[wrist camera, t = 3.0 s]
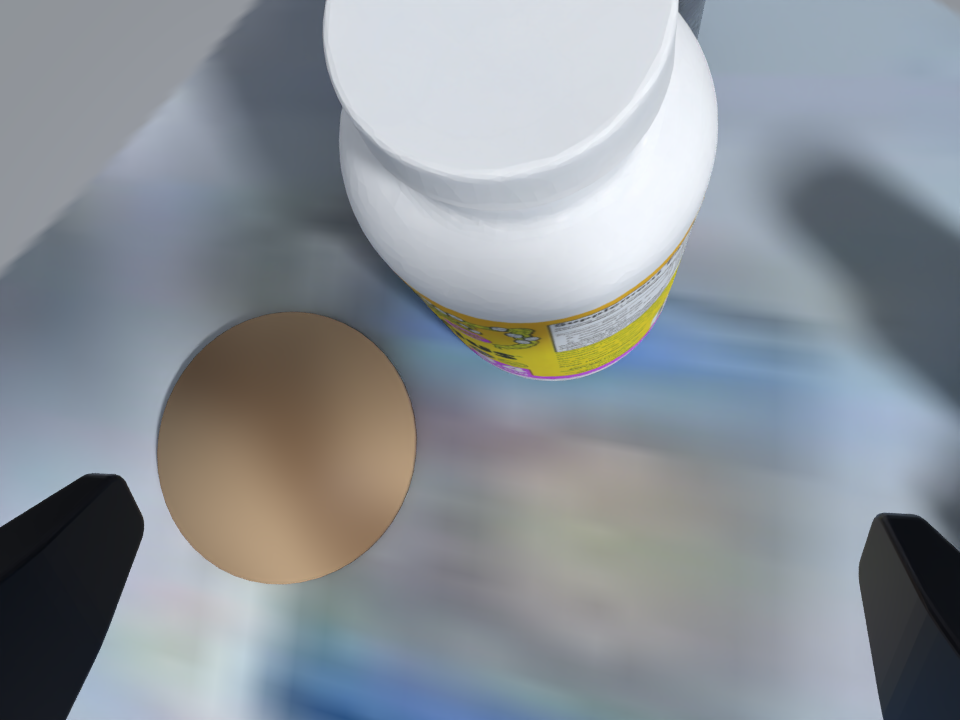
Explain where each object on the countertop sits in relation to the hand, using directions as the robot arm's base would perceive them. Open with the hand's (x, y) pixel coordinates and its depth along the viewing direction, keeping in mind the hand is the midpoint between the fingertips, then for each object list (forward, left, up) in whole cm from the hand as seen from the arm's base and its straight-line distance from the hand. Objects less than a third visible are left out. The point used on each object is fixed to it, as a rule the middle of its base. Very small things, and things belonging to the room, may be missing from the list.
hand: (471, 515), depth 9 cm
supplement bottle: (+6, +3, -13) cm, 14 cm away
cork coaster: (-2, +8, -12) cm, 15 cm away
